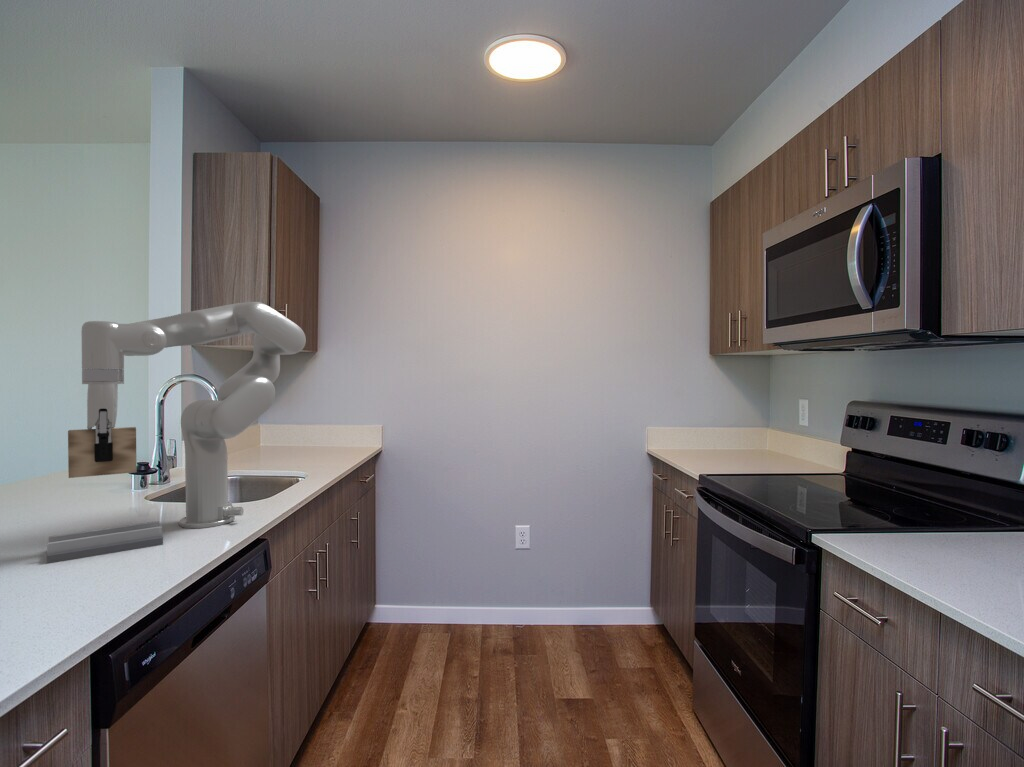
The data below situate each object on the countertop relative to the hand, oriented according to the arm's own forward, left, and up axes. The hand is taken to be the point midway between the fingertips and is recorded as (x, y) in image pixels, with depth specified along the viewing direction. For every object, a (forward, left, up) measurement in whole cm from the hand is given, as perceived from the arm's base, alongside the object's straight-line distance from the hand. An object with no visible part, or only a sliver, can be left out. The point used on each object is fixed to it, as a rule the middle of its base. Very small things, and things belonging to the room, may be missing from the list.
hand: (103, 459), depth 122 cm
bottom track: (-1, +1, -19) cm, 19 cm away
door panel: (0, 0, -3) cm, 3 cm away
